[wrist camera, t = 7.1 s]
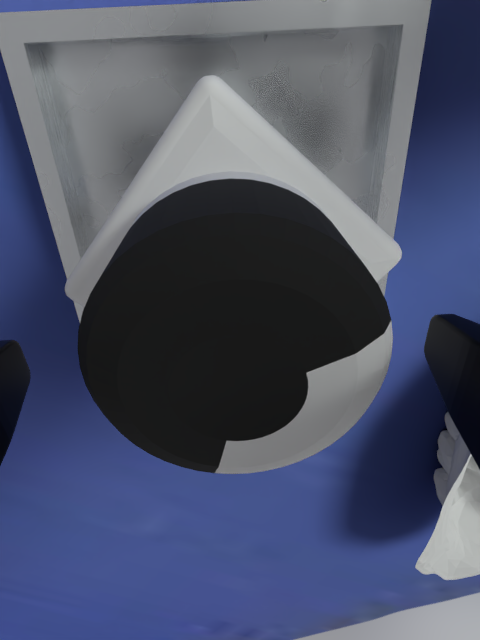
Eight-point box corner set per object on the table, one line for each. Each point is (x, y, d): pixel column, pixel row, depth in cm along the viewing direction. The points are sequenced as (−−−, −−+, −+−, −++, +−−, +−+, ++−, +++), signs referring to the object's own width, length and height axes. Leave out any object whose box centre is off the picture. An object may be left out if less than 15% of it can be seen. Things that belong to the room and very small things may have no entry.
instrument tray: (410, 0, 14) (432, -8, 13) (364, 331, 22) (375, 351, 20) (14, 19, 14) (-11, 13, 13) (101, 346, 21) (92, 367, 20)
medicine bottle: (113, 220, 18) (-39, 421, 7) (212, 70, 15) (193, 57, 5) (240, 307, 20) (260, 549, 10) (344, 193, 17) (522, 361, 7)
